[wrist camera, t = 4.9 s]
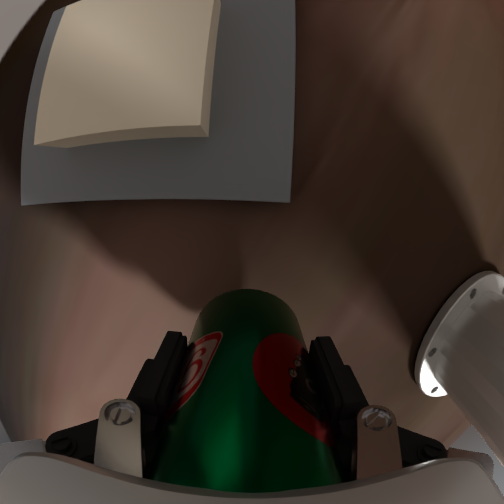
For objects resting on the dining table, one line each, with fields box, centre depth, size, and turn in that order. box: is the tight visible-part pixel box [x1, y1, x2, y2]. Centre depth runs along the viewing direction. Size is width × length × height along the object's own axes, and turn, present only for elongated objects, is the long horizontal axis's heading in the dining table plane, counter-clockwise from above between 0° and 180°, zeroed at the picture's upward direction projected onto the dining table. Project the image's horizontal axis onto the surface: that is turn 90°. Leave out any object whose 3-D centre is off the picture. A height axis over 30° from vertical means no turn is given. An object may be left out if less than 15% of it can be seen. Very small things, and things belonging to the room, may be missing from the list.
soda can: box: [147, 289, 348, 493], centre depth 7 cm, size 5×5×12 cm
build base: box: [21, 0, 296, 205], centre depth 10 cm, size 16×14×4 cm
